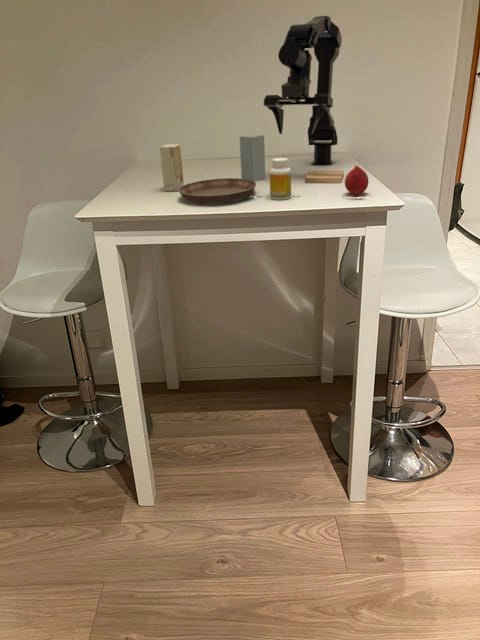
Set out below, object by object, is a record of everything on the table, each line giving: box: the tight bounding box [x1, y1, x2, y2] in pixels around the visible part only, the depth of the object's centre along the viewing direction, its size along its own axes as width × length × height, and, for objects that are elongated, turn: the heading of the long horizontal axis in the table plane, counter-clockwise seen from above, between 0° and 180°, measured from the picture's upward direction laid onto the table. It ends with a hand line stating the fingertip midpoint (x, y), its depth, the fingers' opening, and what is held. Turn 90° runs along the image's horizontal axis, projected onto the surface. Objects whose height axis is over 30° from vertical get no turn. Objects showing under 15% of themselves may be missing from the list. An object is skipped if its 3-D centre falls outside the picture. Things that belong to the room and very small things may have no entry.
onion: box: [344, 164, 369, 198], centre depth 131 cm, size 6×6×8 cm
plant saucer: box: [178, 177, 257, 206], centre depth 139 cm, size 21×21×3 cm
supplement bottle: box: [269, 157, 292, 201], centre depth 133 cm, size 5×5×10 cm
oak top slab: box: [304, 170, 345, 184], centre depth 150 cm, size 10×10×2 cm
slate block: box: [239, 134, 266, 183], centre depth 153 cm, size 5×5×13 cm
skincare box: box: [159, 143, 185, 192], centre depth 149 cm, size 6×4×12 cm
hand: (295, 133), depth 148 cm, fingers open, 9 cm apart
